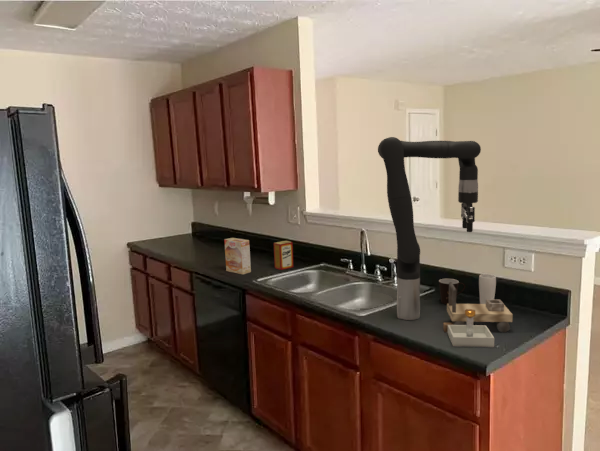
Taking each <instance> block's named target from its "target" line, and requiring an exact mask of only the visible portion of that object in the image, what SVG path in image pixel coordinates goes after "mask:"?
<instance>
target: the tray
mask: <svg viewBox="0 0 600 451" xmlns="http://www.w3.org/2000/svg"><path fill="white" fill-rule="evenodd" d="M446 333H447V336H448V338H449V341H450V342H451V345H452V347H454V348H455V347H456V348H457V347H458V348H459V347H462V348H463V347H464V348H465V347H466V348H495V337H494V335H493V334H492V332H491V331H490V329H489V328H488V327H487V325H485V324H484V325H482V324H480V325H477V324H475V325H474V324H473V337H466V325H448V332H446Z"/></svg>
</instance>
